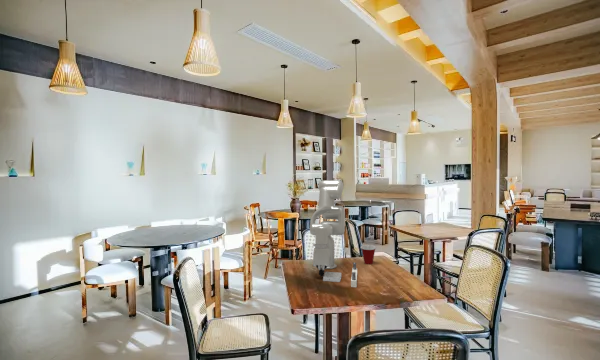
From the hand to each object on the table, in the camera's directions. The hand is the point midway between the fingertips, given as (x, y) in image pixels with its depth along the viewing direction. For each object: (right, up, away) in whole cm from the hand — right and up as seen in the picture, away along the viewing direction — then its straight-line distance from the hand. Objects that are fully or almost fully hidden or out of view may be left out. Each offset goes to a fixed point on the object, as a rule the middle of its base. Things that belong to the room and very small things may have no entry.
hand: (321, 275), depth 196 cm
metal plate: (+6, -2, -1) cm, 7 cm away
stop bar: (+19, -1, -4) cm, 20 cm away
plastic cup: (+36, -1, +34) cm, 49 cm away
